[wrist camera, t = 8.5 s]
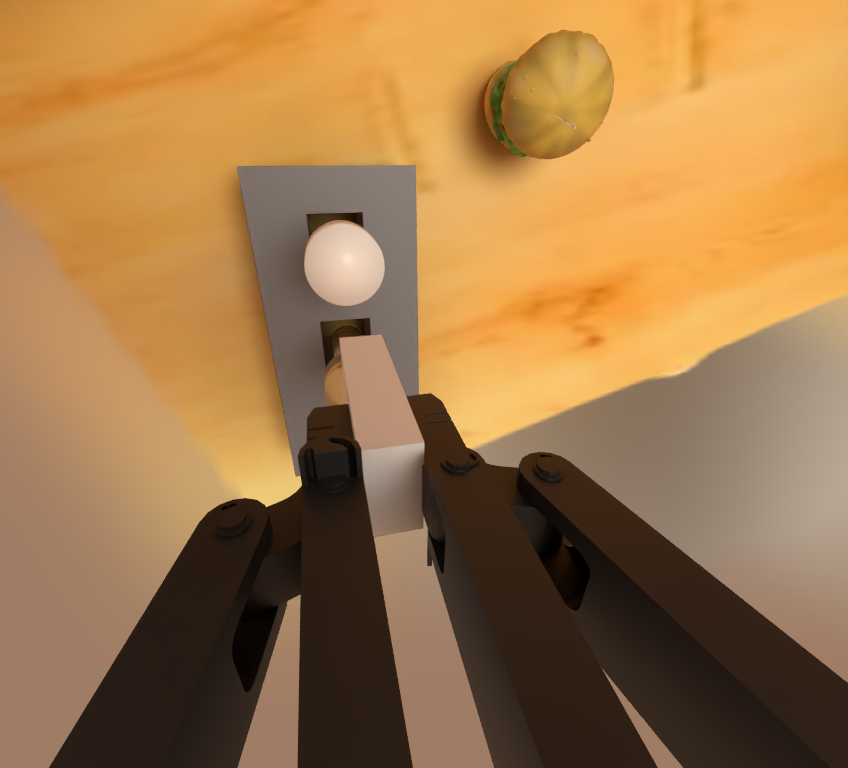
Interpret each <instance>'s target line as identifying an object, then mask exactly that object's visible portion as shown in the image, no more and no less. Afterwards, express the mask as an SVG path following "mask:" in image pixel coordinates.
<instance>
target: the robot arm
mask: <svg viewBox="0 0 848 768" xmlns="http://www.w3.org/2000/svg"><path fill="white" fill-rule="evenodd" d="M339 340H340V350H341V361H342V372H343V382H344V393H345V404H342V405H333V406H324V407H315V408H314V409H313V410H312V411H311V413H310V414H309V416H308V417H307V443H306V444H305V445H304V446H303V447H302V448H301V449H300V451H299V454H298V456H297V457H298V463H299V469H300V475H301V481H302V486H301V487H300V489H299V490H298V491H297V492H296V493H294V494H293V495H291V496H290V497H289V498H287V499H285V500H283V501H281V502H278V503H276V504H273V505H271V506H268V507H266V506H265V505H264V504H262V503H261V502H259V501H258V500H253V499H247V498H244V499H236V500H231V501H228V502H226V503H223V504H221V505H219V506H217V507H216V508H214V509H213V510H211V511H210V512H208V513H207V514H206V515H205V517H204V518H203V519H202V520H201V521H200V522H199V524H198V525H197V527H196V529H195V530H194V532H193V534H192V535H191V537H190V539H189V540H188V542H187V543H186V545H185V547H184V548H183V550H182V552H181V553H180V555H179V556H178V558H177V560H176V561H175V563H174V565H173V566H172V568H171V570H170V571H169V573H168V574H167V576H166V578H165V579H164V581H163V583H162V584H161V586H160V588H159V589H158V591H157V592H156V594H155V596H154V597H153V599H152V600H151V602H150V604H149V605H148V607H147V609H146V610H145V612H144V614H143V615H142V617H141V619H140V620H139V622H138V623H137V625H136V627H135V628H134V630H133V631H132V633H131V635H130V636H129V638H128V640H127V641H126V643H125V645H124V646H123V648H122V649H121V651H120V653H119V654H118V656H117V658H116V659H115V661H114V662H113V664H112V666H111V668H110V669H109V671H108V672H107V674H106V676H105V677H104V679H103V681H102V682H101V684H100V685H99V687H98V689H97V690H96V692H95V693H94V695H93V697H92V698H91V700H90V702H89V703H88V705H87V707H86V708H85V710H84V711H83V713H82V715H81V716H80V718H79V720H78V721H77V723H76V725H75V726H74V728H73V730H72V731H71V733H70V734H69V736H68V738H67V739H66V741H65V742H64V744H63V746H62V747H61V749H60V751H59V752H58V754H57V756H56V757H55V759H54V761H53V762H52V764H51V765H50V767H49V768H237V767H238V764H239V760H240V757H241V754H242V751H243V747H244V744H245V741H246V738H247V734H248V731H249V728H250V725H251V721H252V718H253V715H254V712H255V708H256V705H257V702H258V698H259V695H260V692H261V689H262V685H263V682H264V679H265V676H266V672H267V669H268V666H269V662H270V659H271V656H272V652H273V649H274V646H275V643H276V640H277V636H278V633H279V630H280V626H281V623H282V620H283V617H284V613H285V610H286V607H287V601H288V600H290V599H292V598H294V597H296V596H298V595H300V594H301V604H300V605H301V607H300V662H299V664H300V665H299V721H298V726H299V727H298V768H413V766H412V760H411V754H410V748H409V742H408V736H407V731H406V725H405V720H404V713H403V707H402V701H401V695H400V689H399V684H398V678H397V672H396V666H395V660H394V654H393V648H392V643H391V637H390V631H389V625H388V619H387V613H386V607H385V601H384V595H383V590H382V584H381V578H380V573H379V566H378V561H377V554H376V549H375V543H374V537H377V536H383V535H388V534H394V533H399V532H404V531H411V530H416V529H422V528H423V515H424V518H425V521H426V524H427V527H428V545H427V564H428V566H432V560H433V563H434V567H435V570H436V574H437V577H438V580H439V584H440V587H441V591H442V594H443V597H444V601H445V604H446V607H447V611H448V614H449V617H450V621H451V624H452V627H453V631H454V634H455V637H456V641H457V644H458V647H459V651H460V654H461V658H462V661H463V664H464V668H465V671H466V674H467V678H468V681H469V684H470V688H471V691H472V694H473V698H474V701H475V705H476V708H477V711H478V715H479V718H480V721H481V725H482V728H483V731H484V735H485V738H486V741H487V745H488V748H489V752H490V755H491V758H492V762H493V765H494V768H657V766H656V764H655V762H654V760H653V759H652V757H651V755H650V753H649V751H648V750H647V748H646V746H645V744H644V743H643V741H642V739H641V737H640V735H639V734H638V732H637V730H636V728H635V727H634V725H633V723H632V721H631V719H630V718H629V716H628V714H627V713H626V711H625V709H624V707H623V705H622V704H621V702H620V700H619V698H618V696H617V695H616V693H615V691H614V689H613V688H612V686H611V684H610V682H609V681H608V679H607V677H606V675H605V673H604V672H603V670H604V671H605V672H606V674H607V675H608V676H609V677H610V678H611V680H612V681H613V682H614V683H615V685H616V686H617V687H618V688H619V689H620V691H621V692H622V693H623V694H624V696H625V697H626V698H627V699H628V701H629V702H630V703H631V704H632V705H633V706H634V708H635V709H636V710H637V712H638V713H639V714H640V715H641V717H642V718H643V719H644V720H645V721H646V723H647V724H648V725H649V726H650V727H651V729H652V730H653V731H654V732H655V734H656V735H657V736H658V737H659V738H660V740H661V741H662V742H663V743H664V745H665V746H666V747H667V748H668V749H669V751H670V752H671V753H672V754H673V756H674V757H675V758H676V759H677V761H678V762H679V763H680V764H681V765H682V767H683V768H848V683H847V682H846V681H844V680H843V679H842V678H841V677H840V676H838V675H837V674H836V673H834V672H833V671H832V670H830V669H829V668H828V667H827V666H826V665H825V664H823V663H822V662H821V661H819V660H818V659H817V658H816V657H814V656H813V655H812V654H811V653H809V652H808V651H807V650H806V649H804V648H803V647H802V646H801V645H799V644H798V643H797V642H795V641H794V640H793V639H792V638H790V637H789V636H788V635H787V634H786V633H784V632H783V631H782V630H780V629H779V628H778V627H777V626H775V625H774V624H773V623H772V622H770V621H769V620H768V619H766V618H765V617H764V616H763V615H762V614H760V613H759V612H758V611H757V610H755V609H754V608H753V607H752V606H750V605H749V604H748V603H746V602H745V601H744V600H743V599H741V598H740V597H739V596H738V595H737V594H735V593H734V592H733V591H732V590H730V589H729V588H728V587H726V586H725V585H724V584H723V583H721V582H720V581H719V580H718V579H716V578H715V577H714V576H713V575H711V574H710V573H709V572H708V571H706V570H705V569H704V568H703V567H701V566H700V565H699V564H697V563H696V562H695V561H694V560H693V559H691V558H690V557H689V556H688V555H686V554H685V553H684V552H682V551H681V550H680V549H679V548H677V547H676V546H675V545H674V544H672V543H671V542H670V541H669V540H667V539H666V538H665V537H664V536H662V535H661V534H660V533H659V532H657V531H656V530H655V529H654V528H652V527H651V526H650V525H649V524H647V523H646V522H645V521H644V520H642V519H641V518H640V517H638V516H637V515H636V514H635V513H633V512H632V511H631V510H629V509H628V508H627V507H626V506H625V505H623V504H622V503H621V502H620V501H618V500H617V499H616V498H615V497H613V496H612V495H611V494H610V493H608V492H607V491H606V490H605V489H603V488H602V487H601V486H600V485H598V484H597V483H596V482H594V481H593V480H592V479H591V478H590V477H588V476H587V475H586V474H584V473H583V472H582V471H581V470H579V469H578V468H577V467H575V466H574V465H573V464H572V463H571V462H569V461H567V460H566V459H564V458H563V457H561V456H558V455H555V454H552V453H544V452H537V453H531V454H529V455H527V456H525V457H523V458H522V460H521V462H520V464H519V468H513V467H502V466H495V465H490V464H487V463H485V461H484V459H483V458H482V457H481V456H480V455H479V454H478V453H477V452H475V451H473V450H472V449H470V448H466V446H465V444H464V442H463V440H462V438H461V436H460V434H459V433H458V431H457V429H456V427H455V425H454V423H453V421H451V418H450V416H449V414H448V413H447V410H446V408H445V406H444V404H443V403H442V401H441V400H439V399H438V398H437V397H435V396H434V395H432V394H431V393H430V394H421V395H412V396H406V395H405V392H404V390H403V387H402V385H401V382H400V380H399V377H398V375H397V372H396V370H395V367H394V364H393V362H392V359H391V357H390V354H389V352H388V349H387V347H386V344H385V342H384V339H383V337H382V334H381V335H369V336H356V337H343V338H339ZM602 669H603V670H602Z"/></svg>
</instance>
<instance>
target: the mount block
mask: <svg viewBox="0 0 848 768" xmlns="http://www.w3.org/2000/svg"><path fill="white" fill-rule="evenodd" d="M237 170H238V175H239V180H240V185H241V191H242V196H243V201H244V206H245V212H246V217H247V222H248V228H249V233H250V238H251V243H252V249H253V254H254V259H255V264H256V270H257V275H258V280H259V285H260V291H261V296H262V301H263V306H264V312H265V317H266V322H267V328H268V333H269V338H270V343H271V349H272V354H273V359H274V364H275V370H276V375H277V380H278V385H279V391H280V396H281V401H282V407H283V412H284V417H285V422H286V428H287V433H288V438H289V443H290V449H291V454H292V459H293V464H294V470H295V475H296V476H301V475H300V469H299V463H298V457H297V456H298V454H299V451H300V449H301V448H302V447H303V446H304V445H305V444H306V443H307V417H308V416H309V414H310V413H311V411H312V410H313V409H314V408H315V407H324V406H328V404H327V402H326V398H325V382H324V374H325V370H326V367H327V365H328V364H329V362H330V361H331V360H332V359H333V358H334V352H333V343H332V337H325V338H324V335H323V327H322V322H323V321H335V320H348V319H361V318H363V322H364V334H360V336H369V335H381V334H382V337H383V339H384V342H385V344H386V347H387V349H388V352H389V354H390V357H391V359H392V362H393V364H394V367H395V370H396V372H397V375H398V377H399V380H400V382H401V385H402V387H403V390H404V392H405V395H406V396H412V395H419V378H418V298H417V219H416V165H397V166H237ZM319 213H355V217H356V224H358V225H360V226H361V227H363V228H364V229H365V230H366V231H367V232H368V233H369V234H370V235H371V236H372V237H373V239H374V240H375V241H376V243H377V244H378V245H379V247H380V249H381V251H382V254H383V258H384V264H385V271H384V277H383V280H382V283H381V285H380V287H379V288H378V290H377V291H376V292H375V294H374V295H372V296H371V297H370V298H369V299H368V300H366V301H364V302H362V303H359V304H356V305H351V306H341V305H336V304H332V303H330V302H328V301H326V300H324V299H323V298H321V297H320V296H319V295H318V294H317V293H316V292H315V291H314V290H313V289H312V287H311V286H310V284H309V282H308V280H307V277H306V274H305V269H304V259H305V250H306V245H307V243H308V240H309V238H310V236H311V231H310V223H309V215H308V214H319Z"/></svg>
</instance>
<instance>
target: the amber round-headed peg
mask: <svg viewBox="0 0 848 768" xmlns="http://www.w3.org/2000/svg"><path fill="white" fill-rule="evenodd" d="M356 336H360V333H359V332H358V330H357V329H355V328H354V327H351V326H342V327H340V328H338V329H337V330H336V331H335V332H334V334H333V337H332V343H333V352H334V358H333V359H332V360H331V361H330V362H329V364H328V365H327V367H326V370H325V374H324V382H325V398H326V402H327V404H328V406H333V405H342V404H345V393H344V382H343V372H342V361H341V350H340V340H339V338H343V337H356Z"/></svg>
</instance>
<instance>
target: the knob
mask: <svg viewBox="0 0 848 768" xmlns="http://www.w3.org/2000/svg"><path fill="white" fill-rule="evenodd" d="M304 269H305V274H306V277H307V280H308V282H309V284H310V286H311V287H312V289H313V290H314V291H315V292H316V293H317V294H318V295H319V296H320V297H321V298H323V299H324V300H326V301H328V302H330V303H332V304H336V305H341V306H351V305H356V304H359V303H362V302H364V301H366V300H368V299H369V298H370V297H371V296H372V295H374V294H375V292H376V291H377V290H378V288H379V287H380V285H381V283H382V280H383V277H384V271H385V264H384V258H383V254H382V251H381V249H380V247H379V245H378V244H377V243H376V241H375V240H374V239H373V237H372V236H371V235H370V234H369V233H368V232H367V231H366V230H365V229H364V228H363V227H361V226H360V225H358V224H356V223H353V222H350V221H345V220H336V221H331V222H328V223H325V224H323V225H322V226H320V227H319V228H317V229H316V230H315V231H314V232H313V234H312V235H311V236H310V238H309V240H308V243H307V245H306V250H305V259H304Z"/></svg>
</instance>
